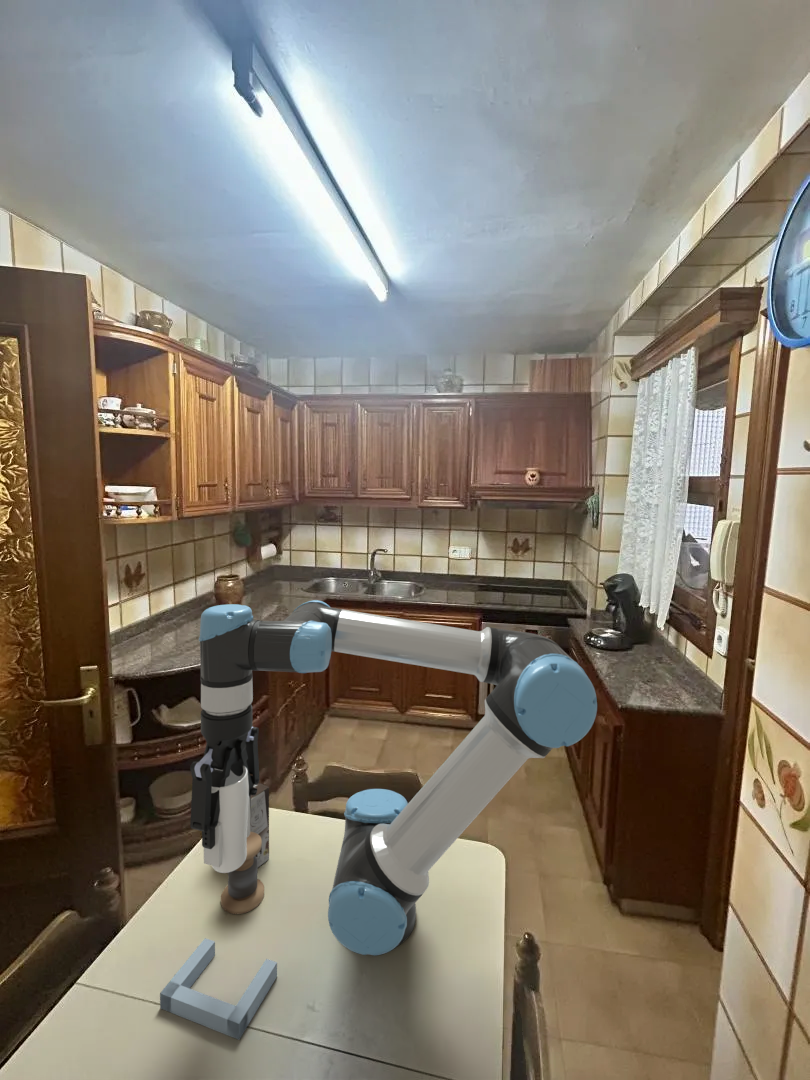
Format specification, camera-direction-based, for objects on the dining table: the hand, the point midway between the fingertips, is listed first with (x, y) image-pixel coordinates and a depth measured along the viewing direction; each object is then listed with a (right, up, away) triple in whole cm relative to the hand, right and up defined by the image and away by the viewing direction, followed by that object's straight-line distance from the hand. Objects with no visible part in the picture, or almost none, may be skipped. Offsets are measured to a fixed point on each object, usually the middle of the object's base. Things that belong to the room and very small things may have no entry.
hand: (227, 848), depth 78 cm
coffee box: (-7, -20, +29) cm, 36 cm away
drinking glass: (0, -3, +1) cm, 3 cm away
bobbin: (-4, -21, +18) cm, 28 cm away
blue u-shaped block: (-1, -22, 0) cm, 23 cm away
